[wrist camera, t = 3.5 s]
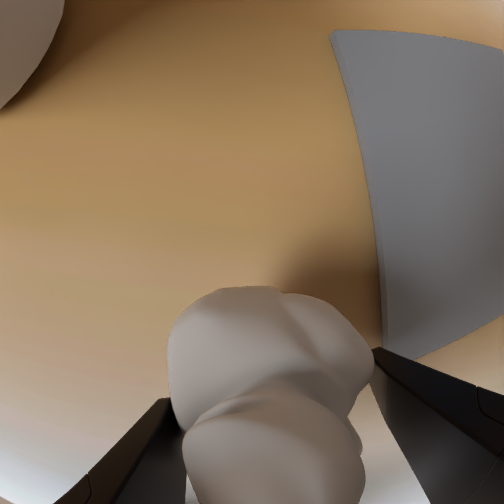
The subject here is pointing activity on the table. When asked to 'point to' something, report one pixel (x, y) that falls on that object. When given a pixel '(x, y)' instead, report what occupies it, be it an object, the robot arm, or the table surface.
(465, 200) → the grey mat
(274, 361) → the off-white lumpy chunk
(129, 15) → the table surface
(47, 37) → the can
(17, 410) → the table surface
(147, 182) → the table surface
